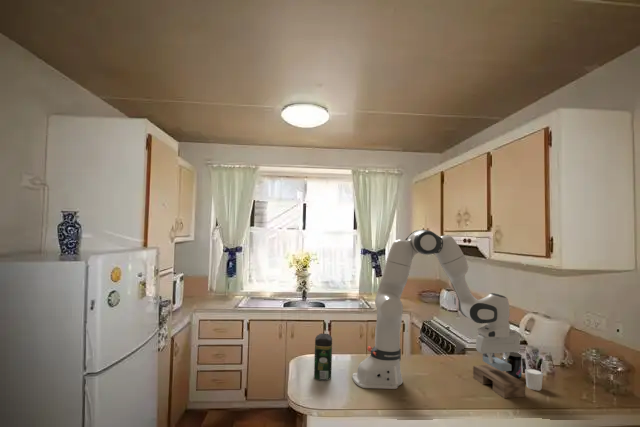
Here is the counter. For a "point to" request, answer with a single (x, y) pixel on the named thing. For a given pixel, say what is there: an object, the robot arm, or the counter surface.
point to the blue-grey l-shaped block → (497, 363)
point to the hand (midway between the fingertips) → (498, 362)
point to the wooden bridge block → (499, 381)
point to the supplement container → (515, 365)
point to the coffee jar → (323, 357)
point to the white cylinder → (534, 379)
